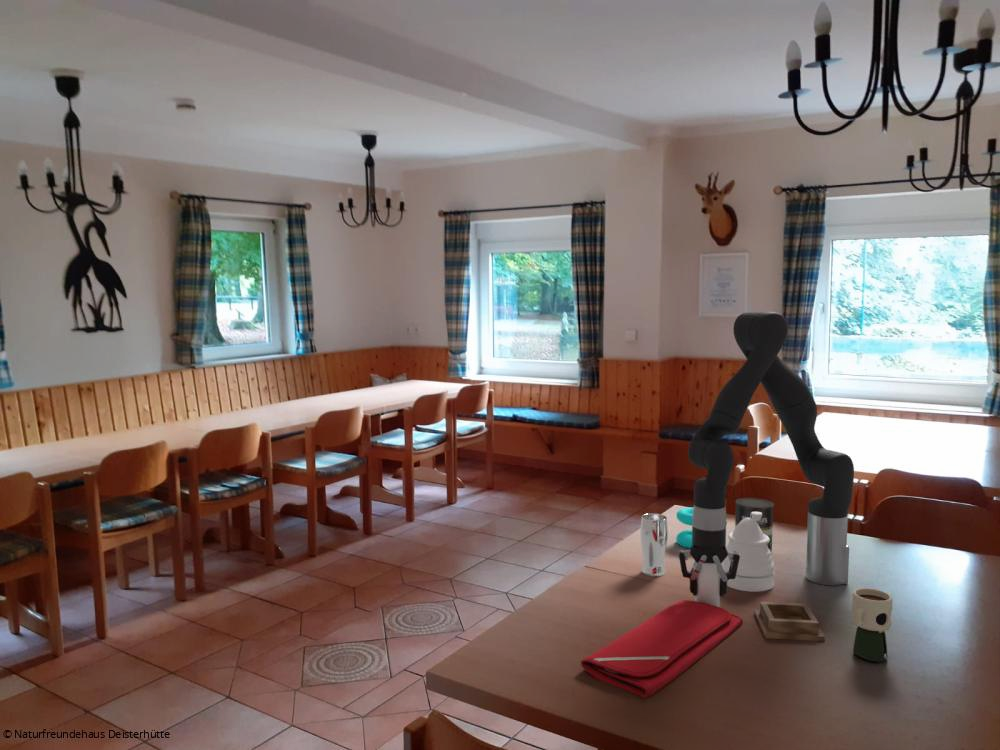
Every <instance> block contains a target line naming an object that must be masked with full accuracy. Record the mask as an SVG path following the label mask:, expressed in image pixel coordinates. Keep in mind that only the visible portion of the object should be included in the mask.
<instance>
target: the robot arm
mask: <svg viewBox="0 0 1000 750" xmlns="http://www.w3.org/2000/svg"><path fill="white" fill-rule="evenodd" d="M732 330H733V336H734V340H735V342H736V344H737V346H738V348H739V349H740V351H741V352H742V353H743V355H744V357H745V359H746V360H745V362H744V363H743V365H742V366H741V367H740V368H739V370H737V372H735V374H734V375H733V376H732V377H731V378H730V379H729V380H727V382H726V383H725V384H724V386H723V387H722V388H721V390H720V391H719V393H718V395H717V397H716V399H715V402H714V403H713V406H712V408H711V411H710V414H709V416H708V418H707V419H706V420H705V421H704V422H703V424H702V425H701V427H700V428H699V429H698V430H697V432H695V434H694V436H693V437H692V439H691V440H690V442H689V445H688V450H687V455H688V459H689V462H690V463H691V464H692V465H694V466H695V467H698V468H701V469H704V470H707V473H706V477H703V478H698V479H697V480H696V481H695V483H694V487H693V507H694V508H693V515H692V528H691V530H692V546H691V548H689V549H687V550H686V549H685V550H683V549H678V551H677V553H678V560H679V564H680V571H681V574H682V577H683V578H687V579H689V591H690V593H691V594H692V595H693V596H694V597H695V596H696V594H697V580H696V577H697V575H698V573H699V572H700V570H701V568H702V566H703V564H704V563H715V564H717V569H718V572H719V574H720V598H722V597H723V598H724V597H725V595H727V593H728V586H727V581H728V580H729V579H735V577H736V573H737V568H738V563H739V559H740V556H739V554H738V552H737V551H734V552H730V551H727V549H726V546H727V545H726V544H727V523H728V522H727V512H726V511H727V510H726V494H727V493H726V489H727V486H728V483H729V480H730V475H731V474H732V470H733V466H734V460H735V459H734V457H735V455H734V452H733V449H732V447H731V446H730V445H729V443H727V442H725V441H724V440H722V439H723V437H724V436H726V435H727V436H728V435H733V434H735V433H738V430H739V428H740V425H741V423H742V421H743V419H744V416H745V414H746V411H747V409H748V407H749V404H750V402H751V400H752V397H753V396H754V394H755V392H756V390H757V388H758V387H759V385H760V384H761V385H762V387H763V389H764V391H765V392H766V394H767V397H768V398H769V400H770V401H769V402H770V403H771V406H772V407H773V409H774V410H775V413H776V416H777V417H778V419H779V420H780V422H781V424H782V426H783V428H784V431H785V432H786V435H787V437H788V439H789V441H790V442H791V445H792V447H793V450H794V452H795V455H796V458H797V461H798V463H799V466H800V469H801V472H802V473H803V475H804V477H805V478H806V479H807V481H809V482H810V483H812V484H814V485H818V486H822V487H823V494H822V497H821V496H820V497H816V498H815V497H814V498H811V499H810V500H809V501H808V505H807V530H806V531H807V532H806V533H807V534H806V535H807V537H806V559H805V560H806V562H805V563H806V564H805V578H807V580H808V581H810V582H812V583H815V584H819V585H824V586H840V585H844V584H845V585H848V584H849V566H850V547H849V545H848V543H847V541H848V519H849V508H850V506H851V503H852V499H853V490H854V489H853V488H854V479H855V466H854V462H853V460H852V458H851V456H849V455H848V454H846V453H843V452H839V451H834V450H831V449H827V448H825V447H824V446H823V445H822V443H821V441H820V440H819V437H818V435H817V434H816V430H815V425H816V422H817V417H818V416H817V415H818V406H817V404H816V401H815V398H814V396H813V395H812V393H811V390H810V388H809V386H808V385H807V383H806V382H805V380H803V379H802V377H800V375H799V374H798V373H797V372H796V371H795V370H794V369H792V368H791V367H789V366H788V365H787V364H786V363H785V362H784V361H783V360H782V359H781V358H780V356H778V355H779V353H780V351H781V350H782V348H783V346H784V344H785V342H786V341H787V337H788V333H789V325H788V322H787V319H786V318H785V317H784V315H783V314H781V313H779V312H775V311H747V312H743V313H741V314H739V315H738V316H737V317H736V318H735V320H734V323H733V329H732ZM690 556H691V557H692V559H693V560H694V562H693V564H692V567H691V570H688V568H687V562H686V561H688V560H689V557H690ZM727 556H728V557H729V560H730V561H731V563H730V568H729V572H727V573H725V572H724V570H723V567H722V565H721V563H722V562H723V561H724V559H725V558H726V557H727ZM696 563H697V565H696ZM700 563H701V564H700Z"/></svg>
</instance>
